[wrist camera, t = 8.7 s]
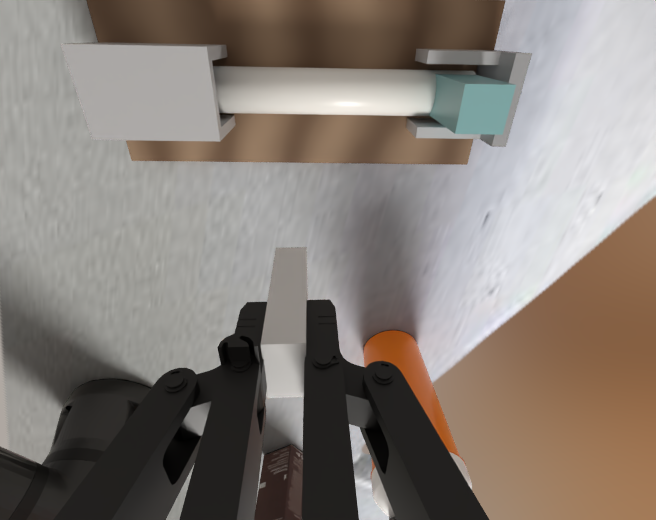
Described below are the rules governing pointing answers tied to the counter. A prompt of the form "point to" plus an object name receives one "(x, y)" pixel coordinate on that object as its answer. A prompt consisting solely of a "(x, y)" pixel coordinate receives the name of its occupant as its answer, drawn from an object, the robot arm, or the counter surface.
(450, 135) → the socket
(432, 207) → the counter surface
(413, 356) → the shaker bottle
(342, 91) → the bolt
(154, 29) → the board
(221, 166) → the counter surface
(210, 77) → the sleeve
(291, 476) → the box
